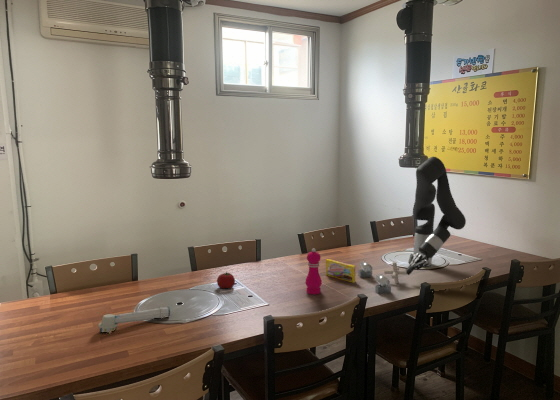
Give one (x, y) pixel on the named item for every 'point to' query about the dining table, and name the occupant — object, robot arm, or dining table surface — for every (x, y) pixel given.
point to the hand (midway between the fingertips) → (406, 273)
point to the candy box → (340, 270)
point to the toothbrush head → (131, 318)
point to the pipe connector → (395, 272)
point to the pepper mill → (313, 273)
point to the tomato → (225, 280)
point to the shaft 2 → (382, 285)
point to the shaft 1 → (365, 270)
